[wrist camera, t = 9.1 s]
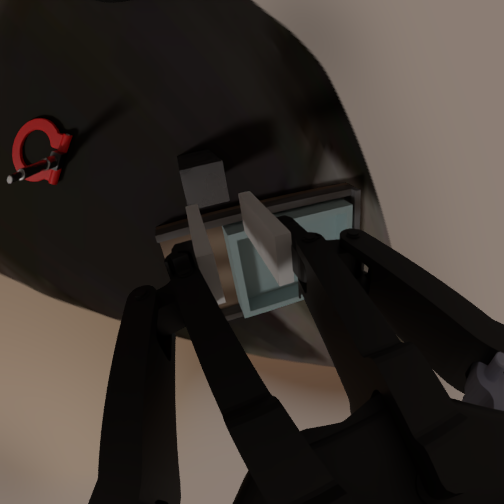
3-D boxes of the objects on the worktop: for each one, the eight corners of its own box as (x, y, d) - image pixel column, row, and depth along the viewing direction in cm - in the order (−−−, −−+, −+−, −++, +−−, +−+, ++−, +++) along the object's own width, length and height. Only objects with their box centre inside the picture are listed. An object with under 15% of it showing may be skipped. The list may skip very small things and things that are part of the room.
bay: (155, 227, 35) (154, 239, 32) (345, 182, 40) (360, 189, 37) (188, 318, 44) (191, 335, 40) (343, 271, 49) (355, 282, 45)
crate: (221, 223, 36) (227, 235, 33) (337, 196, 39) (352, 204, 36) (238, 302, 43) (245, 318, 40) (336, 271, 47) (348, 283, 43)
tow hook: (10, 170, 24) (58, 189, 28) (-45, 196, 13) (8, 224, 17) (27, 112, 22) (77, 129, 26) (-31, 116, 11) (27, 135, 15)
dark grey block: (177, 156, 32) (179, 170, 23) (208, 149, 32) (222, 160, 24) (183, 185, 34) (189, 210, 25) (213, 178, 34) (229, 200, 26)
